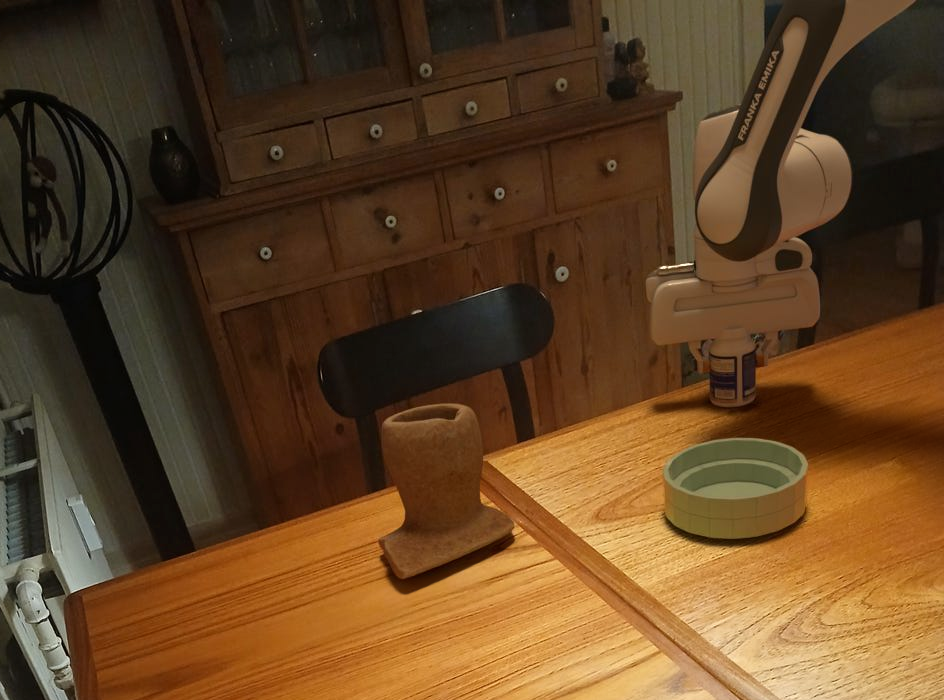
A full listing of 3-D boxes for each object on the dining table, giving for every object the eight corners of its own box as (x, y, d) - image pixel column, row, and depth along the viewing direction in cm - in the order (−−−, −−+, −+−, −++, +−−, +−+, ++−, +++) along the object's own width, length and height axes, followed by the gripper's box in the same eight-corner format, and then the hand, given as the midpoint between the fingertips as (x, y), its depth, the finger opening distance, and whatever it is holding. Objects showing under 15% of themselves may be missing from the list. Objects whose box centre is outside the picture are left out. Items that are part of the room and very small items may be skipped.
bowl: (791, 474, 108) (792, 431, 105) (818, 536, 96) (821, 490, 93) (659, 487, 110) (657, 445, 107) (671, 550, 98) (669, 505, 95)
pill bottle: (744, 388, 129) (745, 312, 124) (763, 402, 125) (764, 324, 119) (702, 397, 129) (701, 321, 124) (719, 412, 124) (719, 334, 119)
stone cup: (472, 505, 113) (451, 379, 105) (530, 540, 104) (513, 406, 96) (355, 553, 108) (324, 425, 100) (407, 594, 99) (377, 457, 91)
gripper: (646, 275, 116) (651, 387, 124) (826, 250, 113) (820, 368, 120) (642, 261, 121) (647, 370, 129) (814, 238, 118) (809, 351, 126)
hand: (732, 369), depth 125 cm, fingers closed on pill bottle, 6 cm apart
